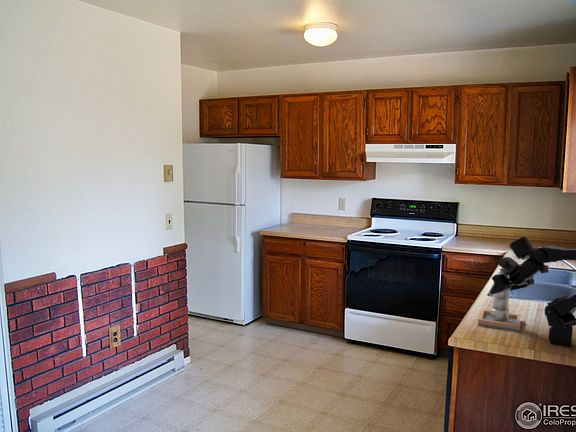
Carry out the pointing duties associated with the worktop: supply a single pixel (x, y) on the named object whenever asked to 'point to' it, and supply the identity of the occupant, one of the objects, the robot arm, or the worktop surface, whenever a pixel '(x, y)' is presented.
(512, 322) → the tray
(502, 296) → the silver tall hollow piece
